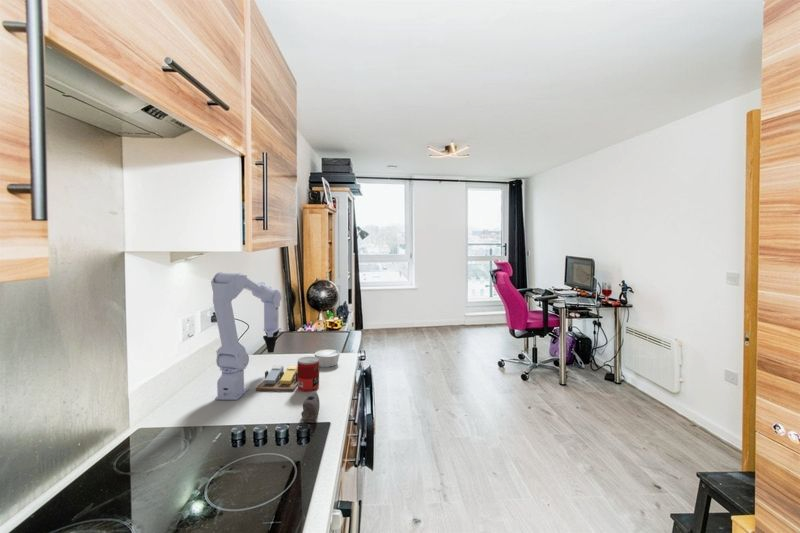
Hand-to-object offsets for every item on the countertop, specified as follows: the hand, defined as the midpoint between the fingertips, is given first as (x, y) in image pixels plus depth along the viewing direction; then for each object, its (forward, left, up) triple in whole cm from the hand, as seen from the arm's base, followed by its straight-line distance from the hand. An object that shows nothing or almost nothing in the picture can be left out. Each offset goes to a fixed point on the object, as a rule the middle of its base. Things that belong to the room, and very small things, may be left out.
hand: (271, 349), depth 152 cm
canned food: (-15, -20, -10) cm, 27 cm away
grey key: (-11, -5, -7) cm, 14 cm away
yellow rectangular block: (-11, -11, -7) cm, 17 cm away
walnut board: (-11, -8, -10) cm, 17 cm away
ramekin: (+12, -21, -10) cm, 26 cm away
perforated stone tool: (-37, -26, -10) cm, 47 cm away
